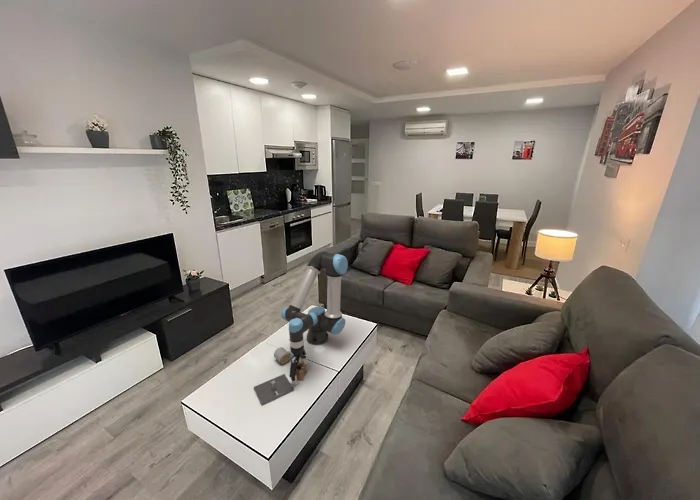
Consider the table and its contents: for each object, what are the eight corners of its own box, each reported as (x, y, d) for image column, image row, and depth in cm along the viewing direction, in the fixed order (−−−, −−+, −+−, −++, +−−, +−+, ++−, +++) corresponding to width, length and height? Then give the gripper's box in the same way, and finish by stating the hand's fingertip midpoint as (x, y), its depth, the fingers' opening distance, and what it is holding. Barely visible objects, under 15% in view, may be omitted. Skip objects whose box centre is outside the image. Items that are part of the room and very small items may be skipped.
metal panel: (284, 375, 170) (283, 368, 168) (294, 390, 159) (293, 383, 157) (253, 388, 160) (252, 381, 159) (261, 405, 149) (260, 398, 148)
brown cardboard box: (295, 370, 174) (294, 361, 172) (306, 372, 172) (306, 363, 170) (291, 378, 167) (290, 370, 165) (302, 380, 166) (302, 371, 164)
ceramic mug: (280, 366, 177) (280, 356, 174) (274, 360, 182) (273, 350, 180) (295, 359, 184) (294, 348, 181) (288, 353, 189) (287, 343, 187)
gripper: (298, 331, 175) (300, 360, 182) (281, 358, 152) (284, 390, 158) (310, 333, 174) (311, 362, 181) (295, 360, 151) (297, 392, 157)
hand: (298, 375), depth 170 cm, fingers open, 13 cm apart
